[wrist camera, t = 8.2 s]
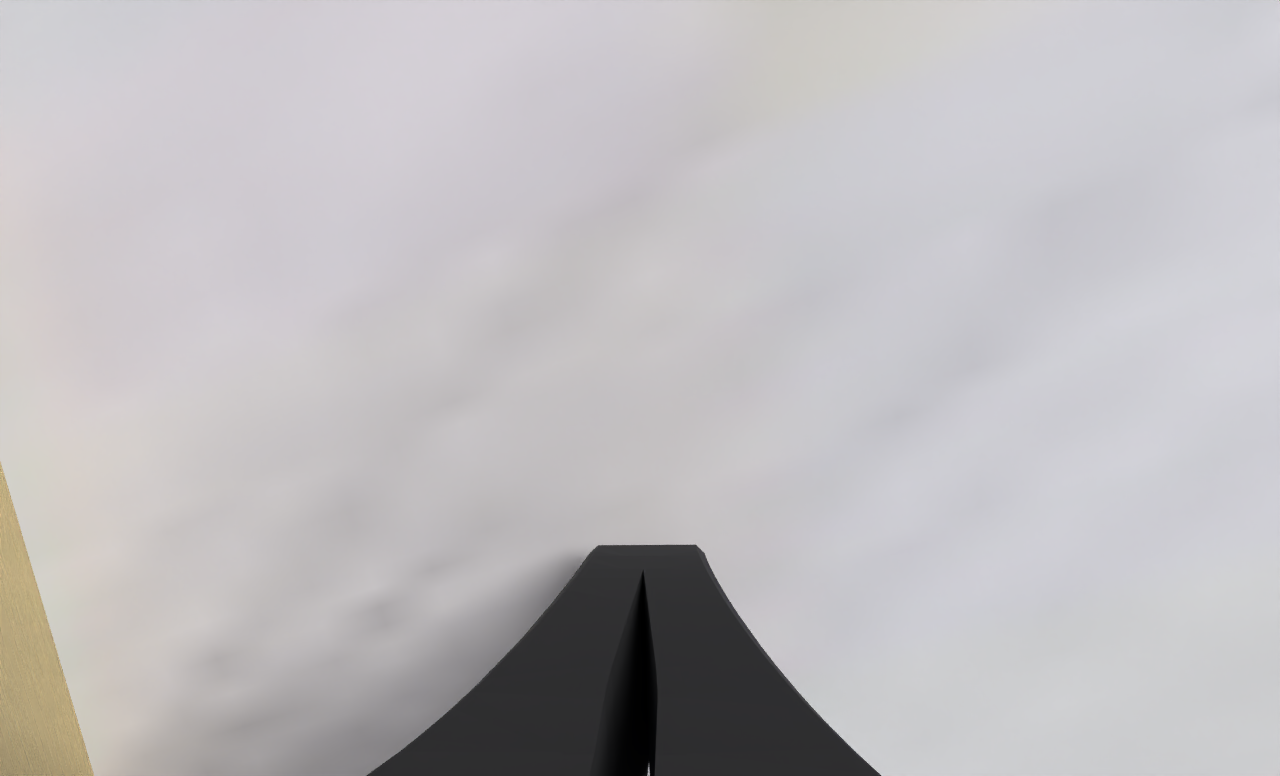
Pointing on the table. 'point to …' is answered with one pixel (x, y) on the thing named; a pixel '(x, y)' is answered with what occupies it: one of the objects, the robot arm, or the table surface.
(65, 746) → the loose hinge leaf
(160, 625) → the table surface
